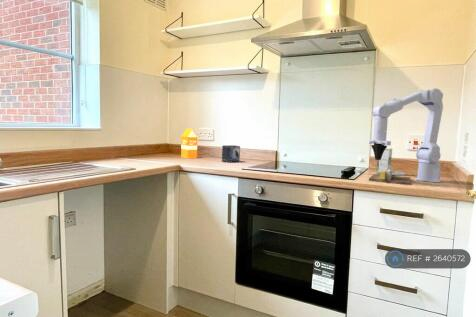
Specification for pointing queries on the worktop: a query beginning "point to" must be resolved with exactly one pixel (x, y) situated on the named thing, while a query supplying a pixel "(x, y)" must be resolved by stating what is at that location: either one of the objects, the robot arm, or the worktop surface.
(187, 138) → the orange juice
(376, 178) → the post board
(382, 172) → the small silver pan
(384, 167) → the syrup box
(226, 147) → the small box
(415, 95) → the robot arm
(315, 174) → the worktop surface
